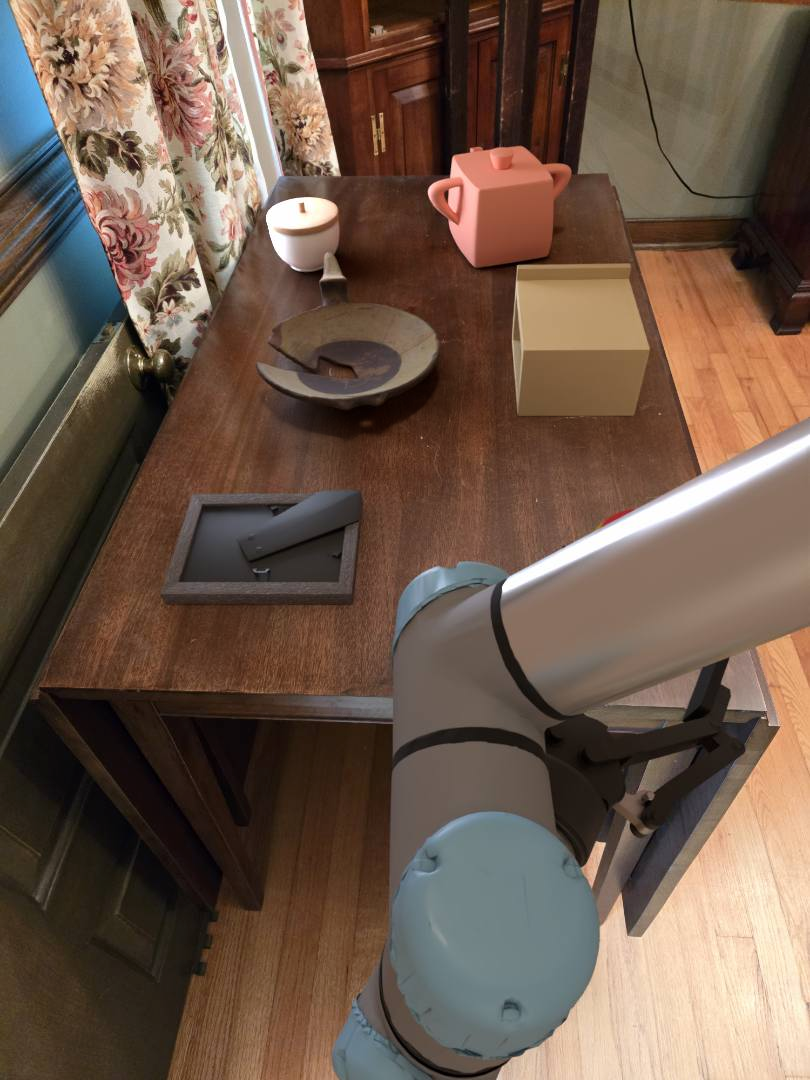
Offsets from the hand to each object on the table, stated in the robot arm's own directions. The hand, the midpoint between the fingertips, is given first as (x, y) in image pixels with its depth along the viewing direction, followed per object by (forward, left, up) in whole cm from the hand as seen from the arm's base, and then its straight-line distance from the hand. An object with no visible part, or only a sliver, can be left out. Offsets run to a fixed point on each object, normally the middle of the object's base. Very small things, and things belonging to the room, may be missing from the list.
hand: (639, 603), depth 56 cm
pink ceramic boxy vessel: (+46, -64, -9) cm, 80 cm away
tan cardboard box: (+21, -36, -9) cm, 43 cm away
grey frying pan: (+45, -25, -9) cm, 53 cm away
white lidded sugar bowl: (+68, -44, -9) cm, 81 cm away
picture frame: (+35, +5, -9) cm, 36 cm away
